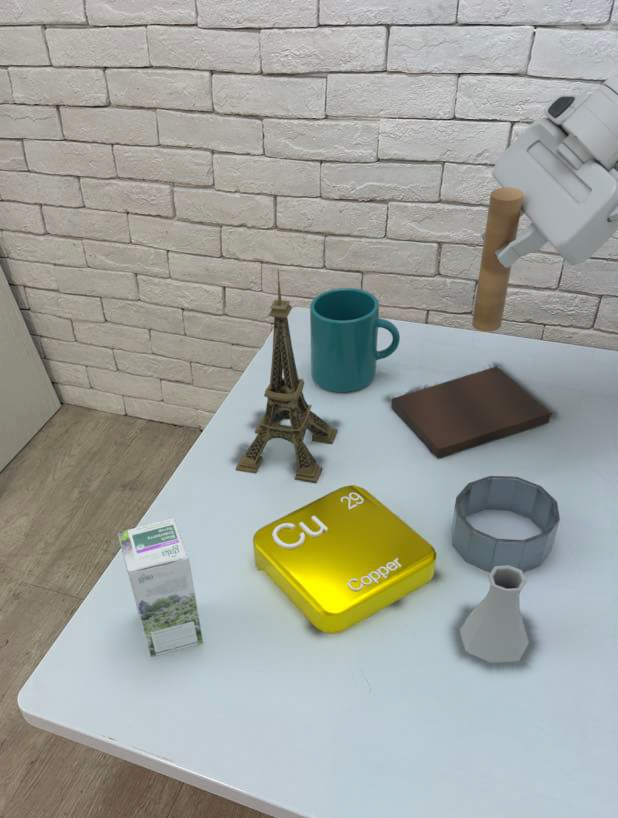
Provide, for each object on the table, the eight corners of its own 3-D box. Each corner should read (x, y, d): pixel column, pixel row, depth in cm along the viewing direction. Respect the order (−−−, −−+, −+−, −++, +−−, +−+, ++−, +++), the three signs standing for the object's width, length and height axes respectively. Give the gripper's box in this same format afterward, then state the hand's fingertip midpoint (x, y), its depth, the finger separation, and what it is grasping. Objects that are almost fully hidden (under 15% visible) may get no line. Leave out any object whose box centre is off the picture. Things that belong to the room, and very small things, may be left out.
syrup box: (192, 610, 86) (173, 513, 76) (206, 652, 82) (188, 555, 72) (141, 624, 86) (115, 528, 75) (152, 667, 82) (126, 571, 71)
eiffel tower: (235, 470, 102) (215, 289, 84) (261, 420, 109) (247, 243, 91) (316, 483, 99) (312, 297, 81) (337, 431, 105) (338, 249, 88)
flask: (528, 681, 76) (549, 615, 69) (450, 667, 78) (461, 600, 71) (532, 623, 80) (551, 555, 73) (458, 610, 83) (469, 543, 75)
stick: (490, 314, 94) (511, 184, 83) (506, 327, 91) (530, 195, 81) (466, 321, 93) (484, 191, 82) (482, 334, 91) (502, 203, 80)
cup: (397, 395, 109) (402, 321, 102) (309, 394, 112) (307, 322, 104) (397, 358, 116) (402, 286, 108) (313, 358, 118) (312, 288, 110)
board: (495, 375, 110) (496, 365, 109) (549, 422, 102) (551, 412, 101) (390, 407, 108) (391, 398, 107) (438, 458, 99) (439, 449, 98)
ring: (511, 505, 92) (520, 465, 88) (567, 563, 85) (580, 523, 81) (433, 532, 91) (437, 493, 86) (483, 594, 84) (492, 555, 79)
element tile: (327, 648, 81) (327, 618, 78) (248, 560, 91) (244, 531, 87) (441, 583, 85) (446, 552, 82) (354, 506, 95) (355, 475, 92)
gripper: (673, 206, 73) (545, 316, 80) (581, 129, 87) (480, 228, 95) (637, 162, 70) (508, 281, 77) (549, 90, 84) (447, 196, 91)
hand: (492, 251), depth 86 cm, fingers closed on stick, 3 cm apart
